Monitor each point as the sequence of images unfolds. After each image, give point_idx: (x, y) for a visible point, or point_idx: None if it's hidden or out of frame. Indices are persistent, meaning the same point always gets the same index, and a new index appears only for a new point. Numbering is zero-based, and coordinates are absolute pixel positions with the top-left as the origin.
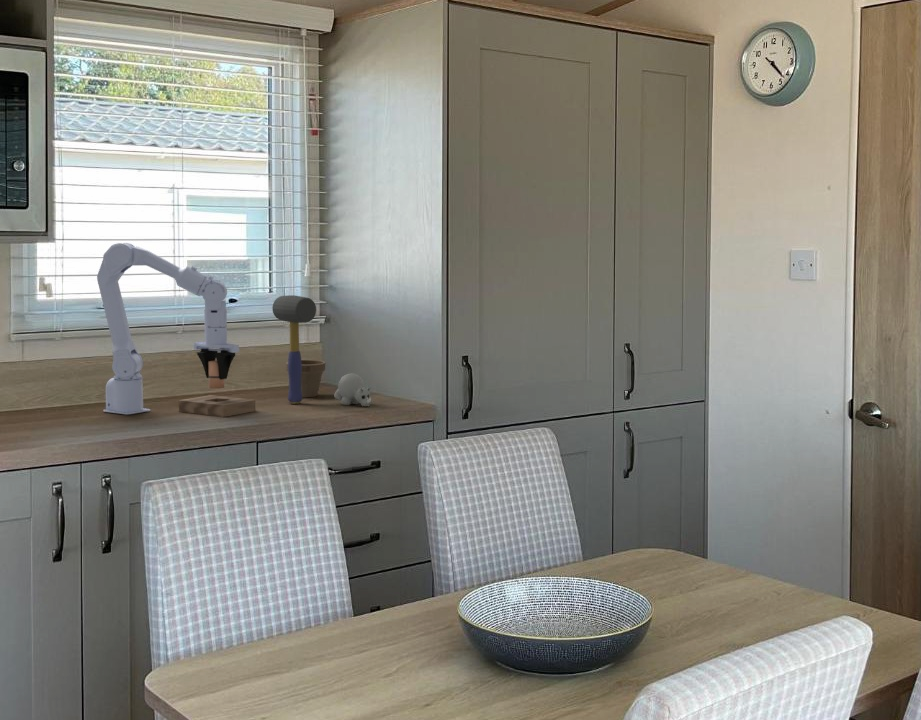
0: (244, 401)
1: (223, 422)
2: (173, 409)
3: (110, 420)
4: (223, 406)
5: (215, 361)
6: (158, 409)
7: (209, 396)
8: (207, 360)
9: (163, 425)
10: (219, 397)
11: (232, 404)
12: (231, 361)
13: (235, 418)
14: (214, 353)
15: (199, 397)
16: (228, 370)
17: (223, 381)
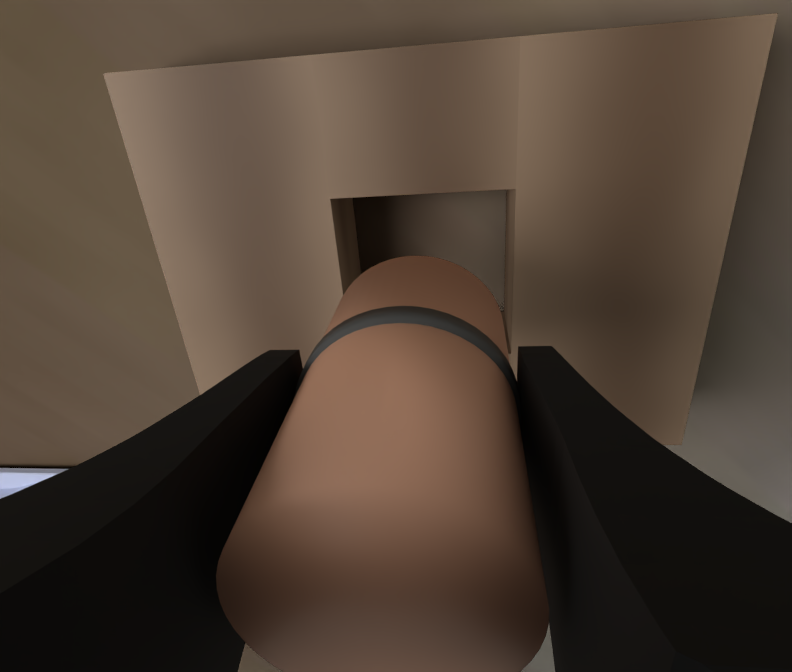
0: (729, 194)
1: (783, 514)
2: (139, 354)
3: (258, 668)
4: (677, 434)
5: (411, 645)
6: (85, 400)
7: (185, 162)
8: (211, 654)
9: (547, 664)
10: (311, 149)
11: (698, 350)
12: (750, 514)
13: (772, 389)
14: (54, 663)
15: (184, 263)
16: (606, 403)
17: (506, 348)
